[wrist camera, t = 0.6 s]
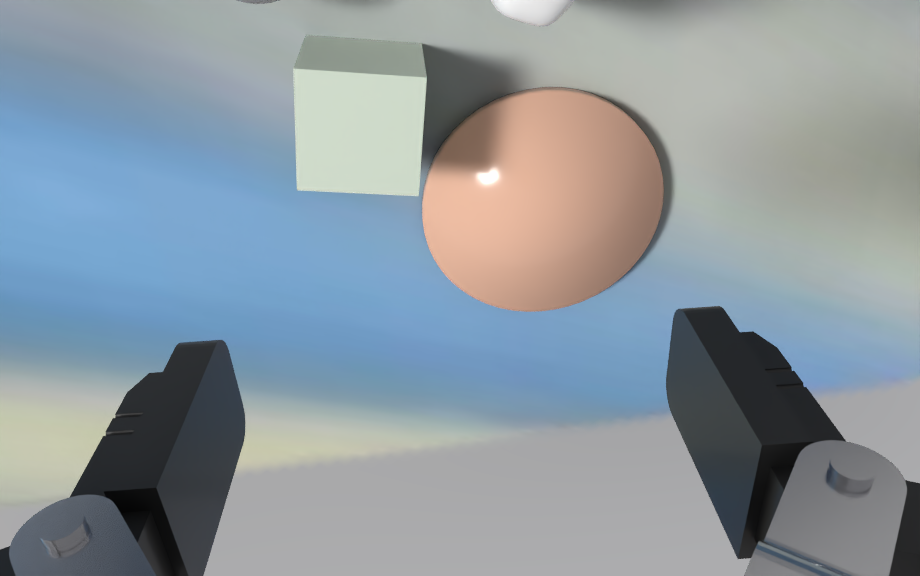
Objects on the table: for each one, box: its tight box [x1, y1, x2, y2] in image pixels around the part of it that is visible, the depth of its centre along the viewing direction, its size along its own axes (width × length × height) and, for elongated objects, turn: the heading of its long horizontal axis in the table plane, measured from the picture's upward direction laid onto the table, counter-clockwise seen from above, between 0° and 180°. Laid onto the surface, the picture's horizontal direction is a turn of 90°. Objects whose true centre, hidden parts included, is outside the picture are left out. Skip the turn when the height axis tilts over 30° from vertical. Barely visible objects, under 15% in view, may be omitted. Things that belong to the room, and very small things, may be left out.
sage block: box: [293, 35, 427, 196], centre depth 31 cm, size 5×5×5 cm
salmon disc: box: [422, 87, 664, 312], centre depth 36 cm, size 12×12×1 cm
